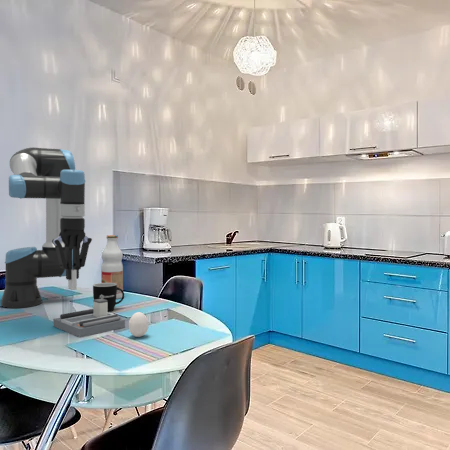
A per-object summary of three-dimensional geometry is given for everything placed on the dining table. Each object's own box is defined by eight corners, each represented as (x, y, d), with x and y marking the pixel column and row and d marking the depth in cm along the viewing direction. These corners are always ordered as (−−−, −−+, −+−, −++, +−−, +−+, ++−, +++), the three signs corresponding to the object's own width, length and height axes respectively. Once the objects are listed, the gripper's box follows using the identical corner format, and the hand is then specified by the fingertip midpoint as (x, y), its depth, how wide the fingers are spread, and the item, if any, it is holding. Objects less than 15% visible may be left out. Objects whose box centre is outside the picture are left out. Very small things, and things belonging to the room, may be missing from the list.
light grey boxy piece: (93, 316, 145) (93, 299, 145) (101, 314, 147) (101, 298, 147) (99, 318, 142) (99, 301, 142) (107, 316, 145) (107, 300, 145)
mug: (95, 313, 160) (95, 287, 160) (91, 309, 168) (91, 283, 168) (126, 310, 165) (126, 284, 165) (121, 306, 173) (121, 281, 173)
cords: (83, 327, 131) (83, 322, 131) (60, 318, 142) (60, 314, 142) (120, 320, 141) (120, 315, 141) (96, 312, 152) (96, 307, 152)
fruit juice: (122, 299, 187) (122, 235, 186) (100, 300, 185) (99, 235, 184) (123, 295, 196) (123, 234, 195) (102, 295, 194) (102, 234, 194)
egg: (131, 333, 134) (131, 309, 134) (150, 334, 134) (150, 310, 134) (126, 339, 128) (126, 314, 128) (146, 339, 128) (146, 314, 128)
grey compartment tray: (53, 326, 142) (53, 316, 142) (96, 317, 154) (96, 308, 154) (79, 337, 130) (79, 326, 130) (125, 327, 142) (125, 317, 142)
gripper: (58, 218, 131) (58, 293, 132) (96, 217, 140) (96, 288, 142) (47, 217, 136) (47, 290, 137) (85, 216, 146) (84, 284, 147)
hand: (72, 289), depth 140 cm, fingers closed
